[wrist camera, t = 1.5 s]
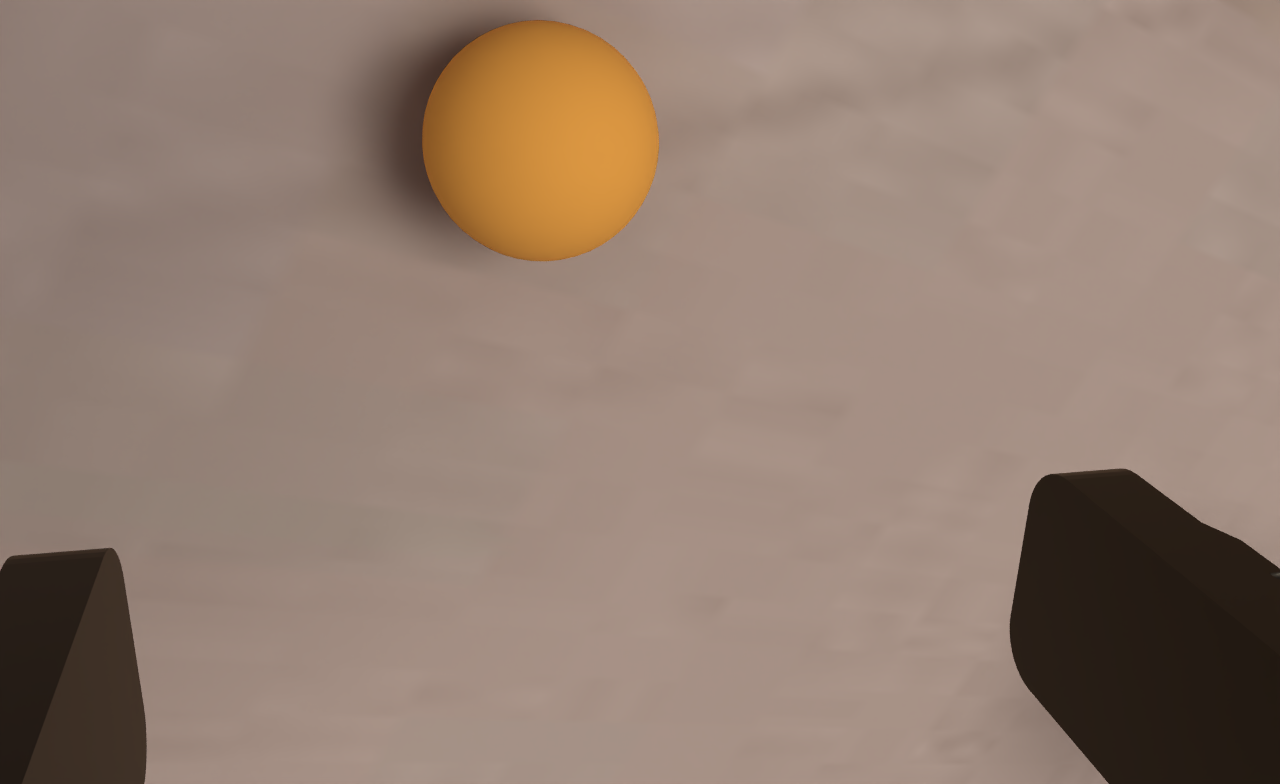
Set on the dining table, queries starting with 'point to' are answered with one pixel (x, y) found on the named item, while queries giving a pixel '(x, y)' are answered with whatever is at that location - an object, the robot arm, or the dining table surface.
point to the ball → (540, 140)
